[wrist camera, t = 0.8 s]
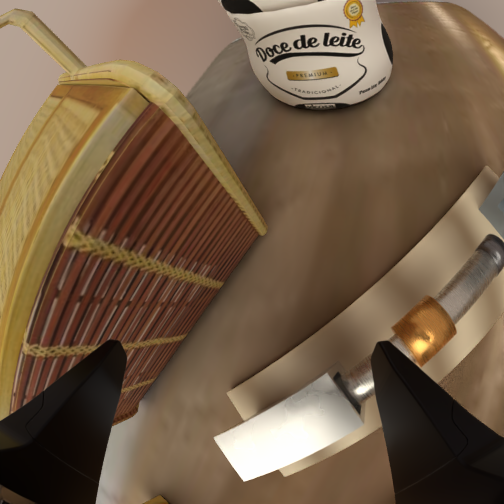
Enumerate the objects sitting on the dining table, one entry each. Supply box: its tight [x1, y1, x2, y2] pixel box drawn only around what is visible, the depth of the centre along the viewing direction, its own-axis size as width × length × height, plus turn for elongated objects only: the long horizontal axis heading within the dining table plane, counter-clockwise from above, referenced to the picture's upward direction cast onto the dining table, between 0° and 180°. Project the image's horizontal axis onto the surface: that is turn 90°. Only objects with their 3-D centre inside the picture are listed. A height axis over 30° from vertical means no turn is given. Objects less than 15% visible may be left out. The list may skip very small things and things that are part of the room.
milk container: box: [218, 0, 393, 110], centre depth 21 cm, size 17×17×18 cm
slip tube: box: [334, 234, 504, 408], centre depth 14 cm, size 22×3×3 cm, turn 125°
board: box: [227, 165, 504, 477], centre depth 18 cm, size 33×10×1 cm, turn 125°
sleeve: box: [213, 361, 366, 481], centre depth 16 cm, size 9×4×6 cm, turn 125°
